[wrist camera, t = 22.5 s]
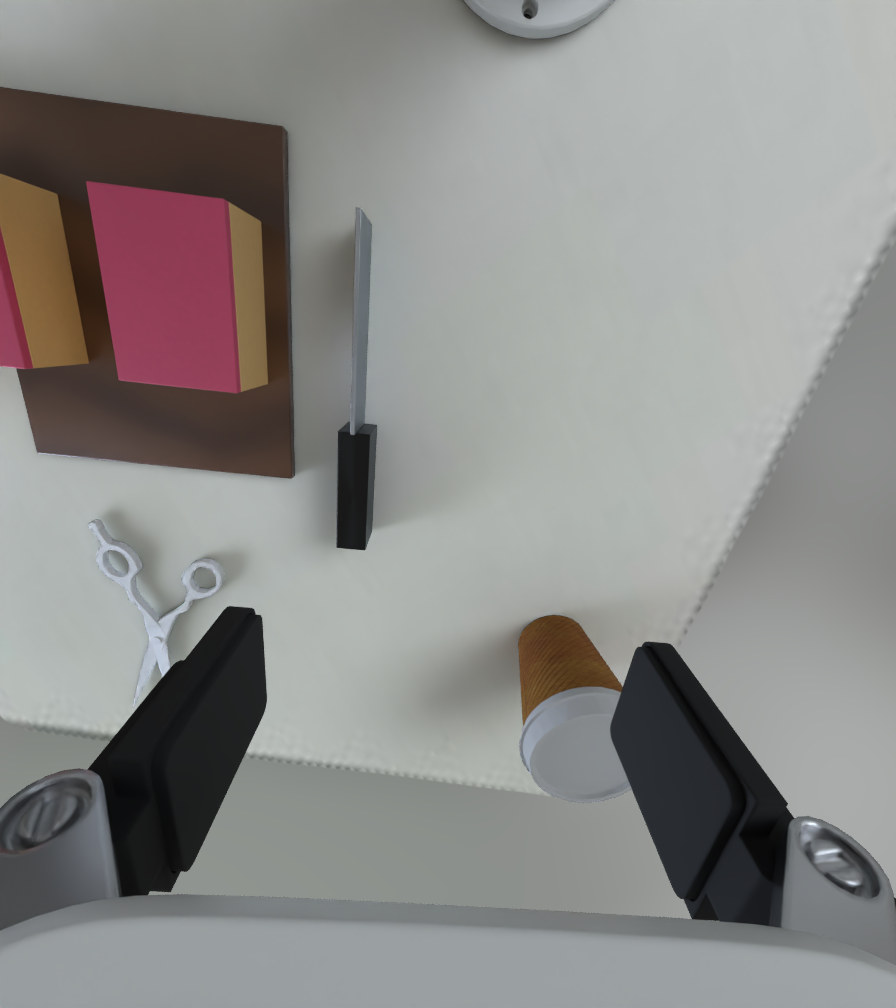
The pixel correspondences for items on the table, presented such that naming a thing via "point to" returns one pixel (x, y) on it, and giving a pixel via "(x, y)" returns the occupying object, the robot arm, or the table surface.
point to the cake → (181, 288)
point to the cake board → (95, 386)
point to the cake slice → (36, 282)
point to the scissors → (153, 623)
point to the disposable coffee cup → (568, 713)
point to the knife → (357, 414)
